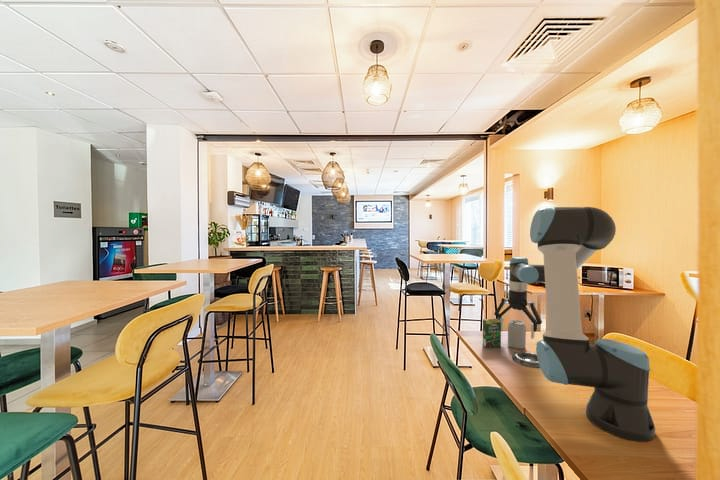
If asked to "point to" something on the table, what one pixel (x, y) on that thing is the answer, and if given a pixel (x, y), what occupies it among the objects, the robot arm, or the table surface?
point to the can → (516, 334)
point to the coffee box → (491, 333)
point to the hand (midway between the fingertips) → (516, 334)
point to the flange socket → (526, 359)
